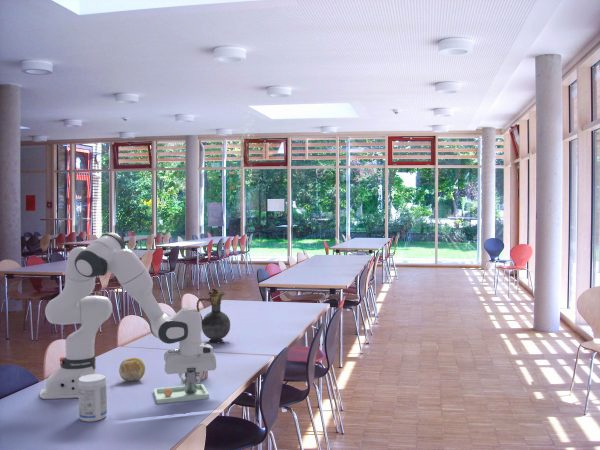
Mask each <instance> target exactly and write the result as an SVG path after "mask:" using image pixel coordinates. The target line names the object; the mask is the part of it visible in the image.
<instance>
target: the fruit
mask: <svg viewBox="0 0 600 450" xmlns="http://www.w3.org/2000/svg"><path fill="white" fill-rule="evenodd" d="M118 371H119V376H120V377H121V379H122V380H123V381H125V382H135V381H139V380H141V379H142V378H143V377H144V375H145V373H146V365H145V363H144V362H143V360H142V359H141V358H139V357H129V358H128V359H124V360H123V361H122V362H121V363H120V364H119V369H118Z"/></svg>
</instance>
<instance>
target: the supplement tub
mask: <svg viewBox="0 0 600 450" xmlns="http://www.w3.org/2000/svg"><path fill="white" fill-rule="evenodd" d="M78 396H79V398H78V418H79V420H81V421H83V422H97V421H100V420H103V419H104V418H106V416H107V415H108V409H107V408H108V405H107V404H108V402H107V379H106V375H104V374H101V373H95V374H89V375H85V376H82V377H80V378H79V382H78Z"/></svg>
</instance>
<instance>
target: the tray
mask: <svg viewBox="0 0 600 450" xmlns="http://www.w3.org/2000/svg"><path fill="white" fill-rule="evenodd" d="M167 388H170V389H171V390H172V395H171V396H169V397H167V396H165V395H164V391H165V389H167ZM152 391H153V396H154V399H155V402H156V404H166V403H175V402H185V401H195V400H206V399H209V398H210V393H209V391H208V390H207V388H206V387H205V385H204V383H201V384H200V383H197V392H196V393H194V394H186V393H185V385H178V386H169V387H158V388H157V387H156V388H153V390H152Z"/></svg>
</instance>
